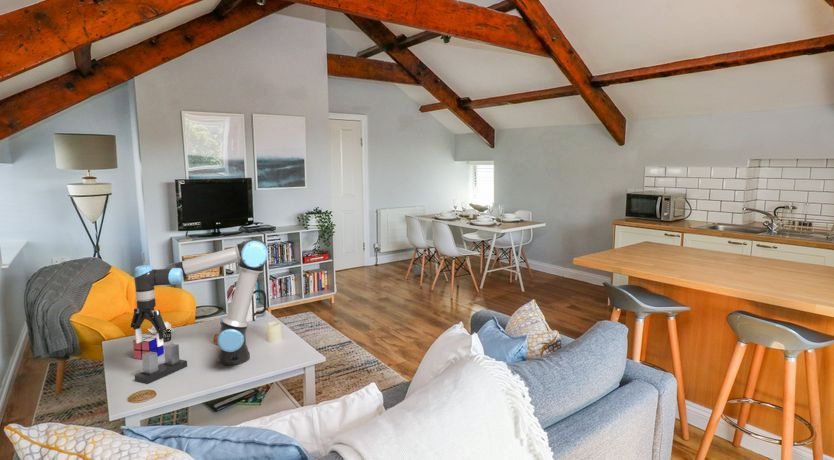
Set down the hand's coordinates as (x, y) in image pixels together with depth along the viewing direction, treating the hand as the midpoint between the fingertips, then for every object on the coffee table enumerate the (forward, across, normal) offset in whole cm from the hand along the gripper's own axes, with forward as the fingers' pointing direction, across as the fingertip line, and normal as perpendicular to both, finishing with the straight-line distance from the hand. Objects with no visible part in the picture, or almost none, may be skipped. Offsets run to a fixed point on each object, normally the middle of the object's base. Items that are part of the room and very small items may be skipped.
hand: (149, 344), depth 219 cm
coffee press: (+18, +20, -87) cm, 91 cm away
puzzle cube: (+17, +27, -20) cm, 37 cm away
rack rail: (+17, +1, -6) cm, 17 cm away
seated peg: (+17, +1, -12) cm, 20 cm away
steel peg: (+17, 0, 0) cm, 17 cm away
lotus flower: (+17, +51, -47) cm, 71 cm away
